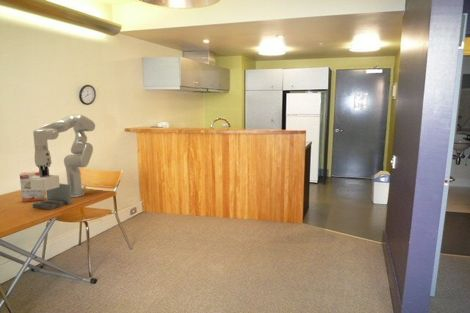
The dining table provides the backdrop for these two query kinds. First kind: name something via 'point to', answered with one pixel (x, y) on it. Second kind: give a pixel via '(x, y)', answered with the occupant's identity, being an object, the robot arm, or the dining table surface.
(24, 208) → the dining table surface
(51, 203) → the grey piece
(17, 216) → the dining table surface
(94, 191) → the dining table surface
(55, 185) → the white rectangular box
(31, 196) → the cracker box
